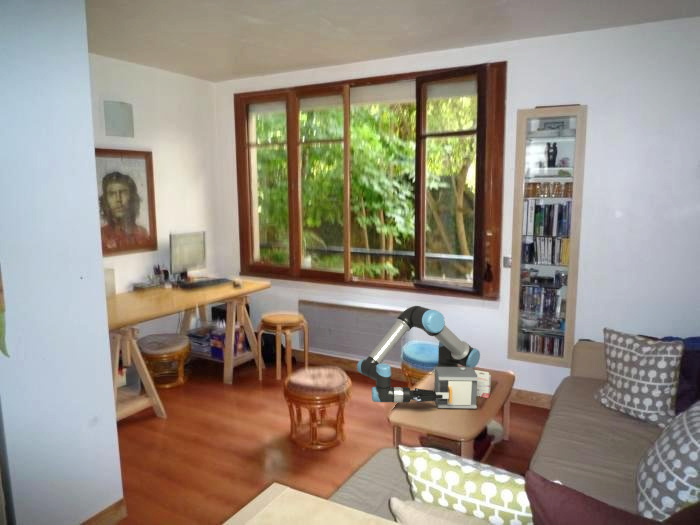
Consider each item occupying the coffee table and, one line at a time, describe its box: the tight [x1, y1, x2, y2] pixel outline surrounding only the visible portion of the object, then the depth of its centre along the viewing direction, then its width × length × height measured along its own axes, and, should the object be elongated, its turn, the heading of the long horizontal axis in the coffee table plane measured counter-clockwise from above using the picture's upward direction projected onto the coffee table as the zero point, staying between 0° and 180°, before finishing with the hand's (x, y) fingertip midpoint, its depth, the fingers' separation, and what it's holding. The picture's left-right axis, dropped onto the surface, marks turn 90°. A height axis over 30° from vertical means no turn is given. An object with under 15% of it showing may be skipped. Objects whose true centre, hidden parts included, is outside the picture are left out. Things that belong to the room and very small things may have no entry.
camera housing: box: [433, 366, 478, 410], centre depth 266 cm, size 14×20×19 cm
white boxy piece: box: [447, 380, 472, 405], centre depth 258 cm, size 6×12×13 cm, turn 89°
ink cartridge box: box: [474, 369, 492, 399], centre depth 278 cm, size 9×5×15 cm, turn 62°
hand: (448, 395), depth 257 cm, fingers closed
